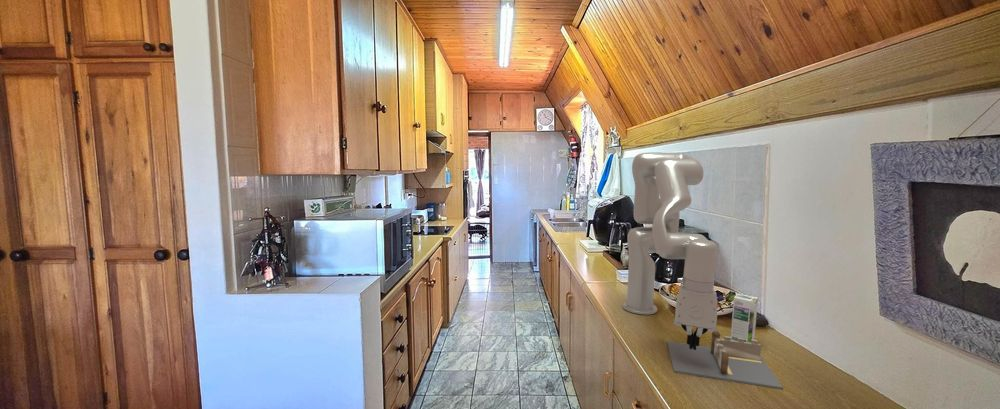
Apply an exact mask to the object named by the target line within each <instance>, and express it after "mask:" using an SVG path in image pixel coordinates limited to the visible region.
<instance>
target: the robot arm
mask: <svg viewBox="0 0 1000 409" xmlns="http://www.w3.org/2000/svg"><path fill="white" fill-rule="evenodd" d="M631 165H632V166H631V172H632V178H633V181H634V199H633V201H634V202H633V219H634V221H635V222H636V223H638V224H641V225H652V226H638V227H634V228H631V229H630V230H629V231H628V233H627V248H628V271H627V273H628V274H627V291H626V300H625V301H623V302H622V308H623V309H624V310H625V311H627V312H629V313H633V314H636V315H642V316H643V315H644V316H645V315H646V316H647V315H654V314H656V313H657V312H658V306H656V305H655V304H654V297H655V279H656V278H655V277H656V263H655V261H654V260H653V258H652V257H651V256H650V254H654V253H655V254H656V253H657V254H658V255H659V257H661V258H662V259H667V260H684V267H683V275H682V277H677V281H676V282H677V283H678V284H681V285H680V286H679V289H678V292H677V297H676V303H675V310H674V311H675V313H674V318H673V321H672V322H673V325H675V326H677V327H681V328H682V329H683V330H684V332H685V333H686V334H687V336H686V344H689V349H692V348H693V349H694V350H696V346H700V338H701V336H703V335H704V334H706V333H707V332H711V333H712V332H713V331H717V322H718V321H717V320H718V296H717V292H716V290H714V287H715V279H716V278H715V277H716V276H715V275H716V267H717V266H716V265H717V255H718V245H717V243H715V242H714V241H712V240H709V239H708V238H707V237H705V235H703V234H700V233H693V232H692V233H690V232H688V233H686V232H682V233H681V232H679V227H680V225H679V224H680V212H681V211H684V210H685V209H687V208H688V207H690V205H691V203H692V197H691V194H690V190H689V186H697V185H699V184H700V183H701V182H702V181H703V178H704V169H703V166H702V164H701V162H700V161H699V160H698V159H696V158H694V157H692V156H690V155H687V154H686V153H681V152H657V151H656V152H654V151H651V152H650V151H649V152H642V153H639V154H636V155H635V156H634V158H633V161H632V164H631ZM692 327H693V328H695V330H694V332H693V329H692Z"/></svg>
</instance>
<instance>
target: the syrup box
mask: <svg viewBox="0 0 1000 409" xmlns="http://www.w3.org/2000/svg"><path fill="white" fill-rule="evenodd" d="M758 301H759V298H758V297H757V296H750V295H747V294H743V293H736V295H734V296H733V304H732V316H731V329H730V336H729V337H730V338H731V340H734V341H737V339H738V338H743V339H744V342H750V343H751V339H753V340H755V334H756V324H757V314H758V304H759V303H758Z"/></svg>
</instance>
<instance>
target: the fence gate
mask: <svg viewBox="0 0 1000 409" xmlns="http://www.w3.org/2000/svg"><path fill="white" fill-rule="evenodd" d="M714 355H715V358H716V360H717V362H718V364H719V367H720V369H721V370H720V371H721V372H722V373H725V374H726V373H727V371H728V359H729V354H728V353H726V350H723V345H722V344H721V338H720V339H716V341H715V344H714Z"/></svg>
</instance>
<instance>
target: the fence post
mask: <svg viewBox="0 0 1000 409" xmlns="http://www.w3.org/2000/svg"><path fill="white" fill-rule="evenodd" d="M730 337H731V336H729V335H724V337H723V338H721V333H720V332H719V331H718V330H716V331H712V332H711V344H710V347H711V354H713V355H714V344H715V341H716V339H720V341H721V344H722V345H723V350H726V353H728V354H729V356H731V357H738V358H745V359H752V360H759V361H760V356H761V351H762V344H761V343H759V341H758V340H757V339H754V340H753V339H751V343H750V342H744V339H743V338H738V339H737V341H734V340H731V338H730Z"/></svg>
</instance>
